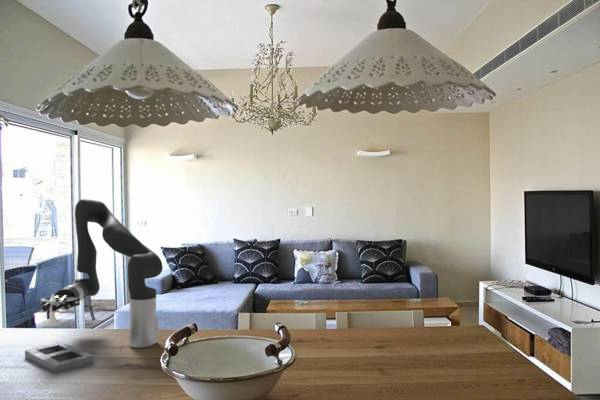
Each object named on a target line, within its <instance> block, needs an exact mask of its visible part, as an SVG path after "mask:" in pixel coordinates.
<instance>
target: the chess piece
mask: <svg viewBox="0 0 600 400" xmlns="http://www.w3.org/2000/svg"><path fill="white" fill-rule="evenodd" d="M54 295H55V294H53V293H52V294H51V296H50V298H52V299H51V300H49V299H50V298H49V299H48V300H49V302H50V305H51V307H49V308H50V309H49V310H50V315H49V318H48V320H46V321H44V323H43V326H45V327H54V326H58V325H60V324H61V320H60V319H57V317H56V314H55V312H56V311H52V305H53V304H55V302H56V300H55V299H54V297H55V296H54Z"/></svg>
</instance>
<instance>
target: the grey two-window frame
mask: <svg viewBox="0 0 600 400" xmlns="http://www.w3.org/2000/svg"><path fill="white" fill-rule="evenodd" d="M24 358H25V359H26V360H27V361H29V362H32V363H33V364H35V365H37V366H39V367H41V368H43V369H44V370H46V371H48V372H50V373H52V374H53V375H58V374H61V373H64V372H68V371H72V370H76V369H79V368H82V367H85V366H89V365H93V364H94V361H95V357H94V355H93V354H91V353H89V352H87V351H84V350H82V349H80V348H77V347H75V346H73V345H71V344H69V343H67V342H64V341H60V342H56V343H51V344H47V345H43V346H39V347H34V348H30V349H26V350H24Z"/></svg>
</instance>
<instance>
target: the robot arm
mask: <svg viewBox="0 0 600 400" xmlns="http://www.w3.org/2000/svg"><path fill="white" fill-rule="evenodd" d="M74 218H75V219H74V220H75V231H76V237H77V238H76V239H77V262H76V270H77V272H78V273H82V274H87V276H88V278H75V279H73V280H72V281H71V284H70V285H66V286H65V287H63V288H61V289H59V290H57V292H56V293H55V294H54V296H55V297H54V299H55V300H56V302H55V304H53V305H52V311H54V312H56V311H58V310H65V311H66V310H70V309H71V308H73V307H74V308H75V307H77V306H81V305H80V304H81V301H82V300H83V299H85V298H86V297H94V296H96V295H98V293H99V291H100V281H99V278H98V273H97V256H98V255H97V254H98V253H97V249H96V246H95V243H94V242H93V239H92V238H91V234H90V231H89V227H88V226H89V225H88V224H89V223H94V224H97V225H99V226H100V227H101V228H102V234H101V235H102V239H103V240H104V242H105V243H106V244H107V245H108V246H109V247H110V248H111V250H113V251H114V252H116V253H118V254H121V255H123V256H126V257H128V258H129V260H128V263H127V284H128V285H127V286H128V291H129V326H128V327H129V333H128V334H129V335H128V339H129V340H128V345H129V347H131V348H137V349H138V348H139V349H140V348H149V347H152V346H154V345H155V344H156V343H157V342H158V343H159V317H158V316H157V289H156V288H154V287H150V286H147V285H146V280H147V279H153V278H156V277H159V276H160V275H161V273H162V271H163V264H162V263H163V262H162V260H161V258H160V256H159V255H158V254H156V253H155V252H154V251H153V250H152V249H150V248H149V247H147V246H146V245H145V244H144V243H142V242H141V241H140V240H139V239H138V238H137V237H136V236H134V234H133V233H132V232H131V231H130V230H129V229H128V228H127V227H126V226H125V225H123V224H122V223H121V222H120V220H118V218H116V216H114V215H113V213H112V211H110V209H109V207H108V206H106V204H105V203H104V202H102V201H100V200H95V199H88V198H82V199H80V200H78V201H77V203H76V205H75V208H74ZM51 299H52V298H49V299H47V298H44V297H41V298H40V308H41V309H42V311H43V312H48V311H49V310H51V309H50V308H49V307H51V305H50V302H49V300H51Z"/></svg>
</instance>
